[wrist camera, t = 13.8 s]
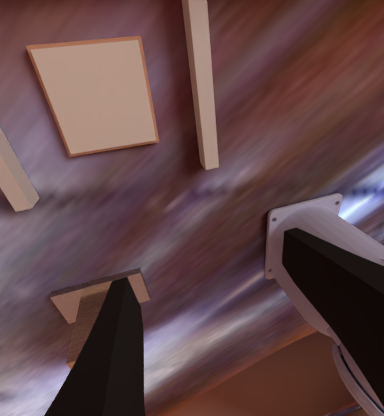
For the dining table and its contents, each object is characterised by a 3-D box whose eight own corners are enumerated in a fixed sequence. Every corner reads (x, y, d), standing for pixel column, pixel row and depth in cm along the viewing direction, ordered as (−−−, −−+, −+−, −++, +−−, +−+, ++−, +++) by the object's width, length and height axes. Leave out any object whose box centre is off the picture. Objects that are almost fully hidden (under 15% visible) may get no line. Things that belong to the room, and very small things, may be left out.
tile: (157, 138, 17) (159, 142, 16) (72, 152, 16) (68, 157, 15) (139, 38, 14) (140, 35, 13) (32, 47, 13) (24, 45, 12)
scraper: (149, 293, 24) (156, 362, 18) (70, 316, 23) (51, 397, 17) (140, 266, 22) (144, 334, 16) (52, 290, 21) (23, 372, 15)
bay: (212, 160, 18) (218, 167, 17) (24, 201, 16) (15, 211, 15) (193, -60, 12) (201, -77, 10) (-120, -39, 10) (-157, -56, 8)
